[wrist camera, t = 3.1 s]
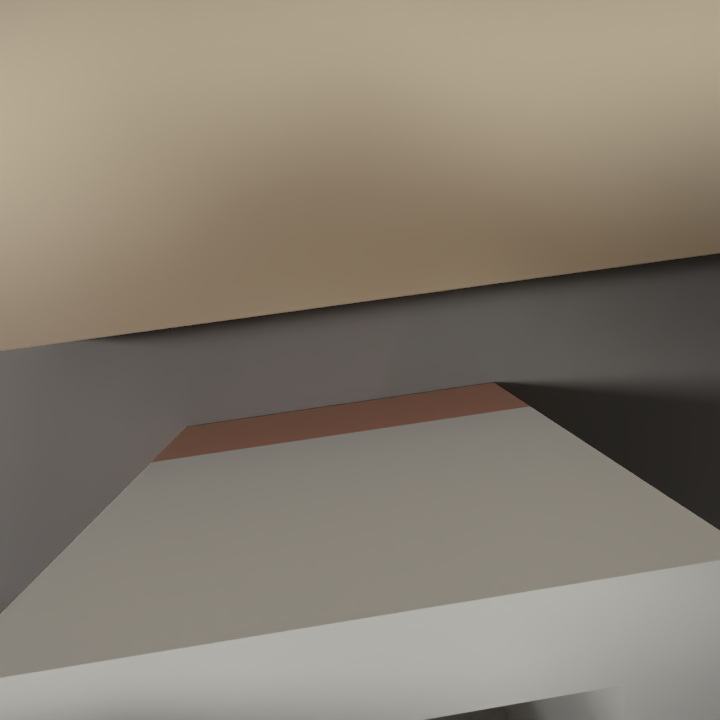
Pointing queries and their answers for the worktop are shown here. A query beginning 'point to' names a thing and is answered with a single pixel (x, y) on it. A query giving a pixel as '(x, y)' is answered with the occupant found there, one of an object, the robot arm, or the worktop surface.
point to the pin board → (340, 152)
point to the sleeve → (376, 578)
